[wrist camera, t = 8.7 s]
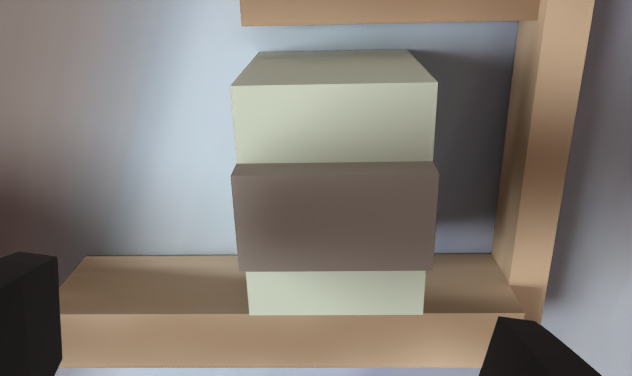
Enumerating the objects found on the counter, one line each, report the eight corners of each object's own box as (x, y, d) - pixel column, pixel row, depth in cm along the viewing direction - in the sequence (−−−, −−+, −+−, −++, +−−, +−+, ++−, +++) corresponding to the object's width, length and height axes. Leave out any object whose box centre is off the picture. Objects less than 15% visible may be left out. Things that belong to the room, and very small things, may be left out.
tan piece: (519, 301, 19) (556, 367, 16) (95, 302, 20) (50, 367, 17) (567, -30, 15) (630, -29, 12) (27, -17, 16) (-52, -13, 12)
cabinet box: (398, 225, 19) (428, 334, 13) (270, 226, 19) (244, 334, 13) (406, 48, 16) (445, 90, 11) (259, 51, 16) (223, 93, 11)
